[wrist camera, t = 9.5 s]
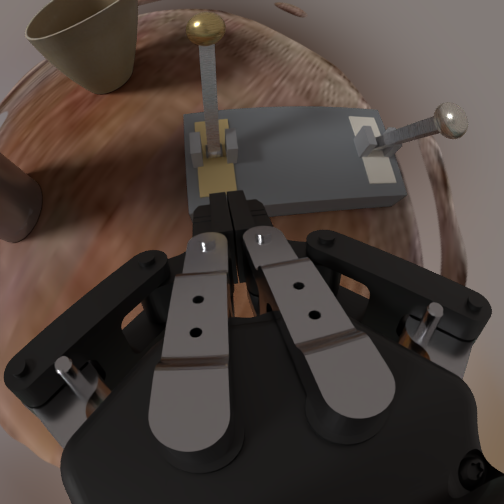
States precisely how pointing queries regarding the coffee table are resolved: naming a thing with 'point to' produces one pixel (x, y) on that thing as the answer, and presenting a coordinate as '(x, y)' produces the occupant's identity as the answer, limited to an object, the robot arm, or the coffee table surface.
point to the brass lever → (208, 72)
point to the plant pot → (88, 40)
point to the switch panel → (294, 159)
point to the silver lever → (428, 127)
